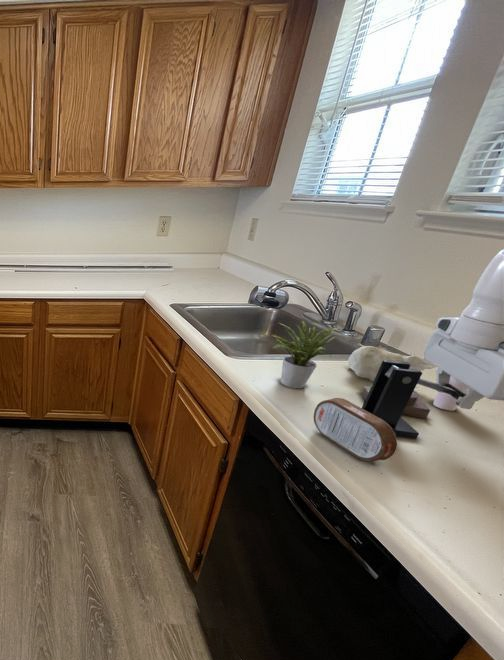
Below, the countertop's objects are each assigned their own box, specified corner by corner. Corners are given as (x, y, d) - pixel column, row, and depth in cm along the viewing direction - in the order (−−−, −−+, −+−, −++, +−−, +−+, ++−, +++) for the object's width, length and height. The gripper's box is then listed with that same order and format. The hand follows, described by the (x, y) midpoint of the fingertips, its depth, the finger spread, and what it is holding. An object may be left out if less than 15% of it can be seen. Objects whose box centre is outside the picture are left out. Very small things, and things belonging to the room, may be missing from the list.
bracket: (395, 418, 92) (423, 361, 86) (416, 438, 85) (448, 378, 79) (337, 411, 94) (360, 355, 88) (353, 430, 87) (380, 370, 81)
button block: (412, 402, 98) (420, 387, 97) (426, 418, 92) (434, 402, 90) (360, 393, 102) (366, 379, 100) (369, 408, 96) (376, 393, 94)
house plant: (292, 368, 115) (311, 311, 108) (341, 390, 103) (366, 328, 96) (250, 373, 112) (267, 315, 105) (295, 398, 100) (318, 334, 93)
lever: (446, 393, 86) (455, 383, 85) (465, 406, 81) (475, 396, 80) (380, 371, 87) (388, 361, 86) (394, 382, 83) (403, 372, 81)
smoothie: (469, 415, 93) (503, 358, 87) (433, 410, 95) (464, 354, 89) (453, 402, 99) (483, 347, 92) (419, 397, 100) (447, 343, 94)
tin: (387, 469, 76) (407, 430, 72) (373, 471, 75) (392, 432, 71) (317, 425, 89) (331, 390, 85) (305, 426, 88) (318, 391, 85)
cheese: (326, 376, 115) (373, 362, 101) (332, 353, 117) (380, 336, 102) (381, 398, 114) (437, 387, 99) (387, 374, 115) (442, 360, 101)
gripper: (557, 357, 68) (510, 428, 74) (469, 319, 85) (437, 379, 92) (509, 352, 69) (467, 422, 75) (432, 316, 87) (403, 375, 93)
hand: (450, 398), depth 84 cm, fingers closed on lever, 5 cm apart
